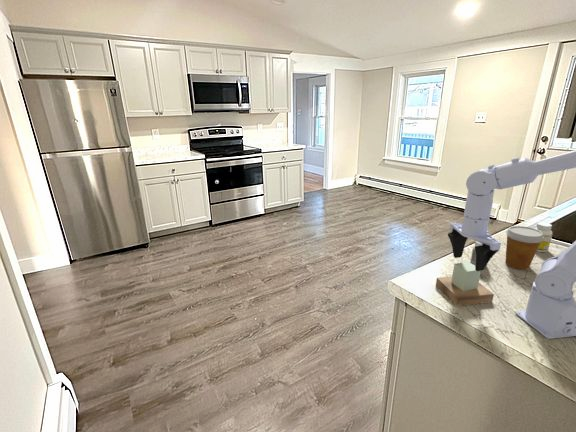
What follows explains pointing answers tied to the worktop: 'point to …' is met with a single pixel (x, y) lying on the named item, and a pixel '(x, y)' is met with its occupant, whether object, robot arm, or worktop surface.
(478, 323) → the worktop surface
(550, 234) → the supplement bottle
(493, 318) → the worktop surface
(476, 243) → the pill bottle
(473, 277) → the sage block
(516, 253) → the disposable coffee cup
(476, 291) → the walnut base
